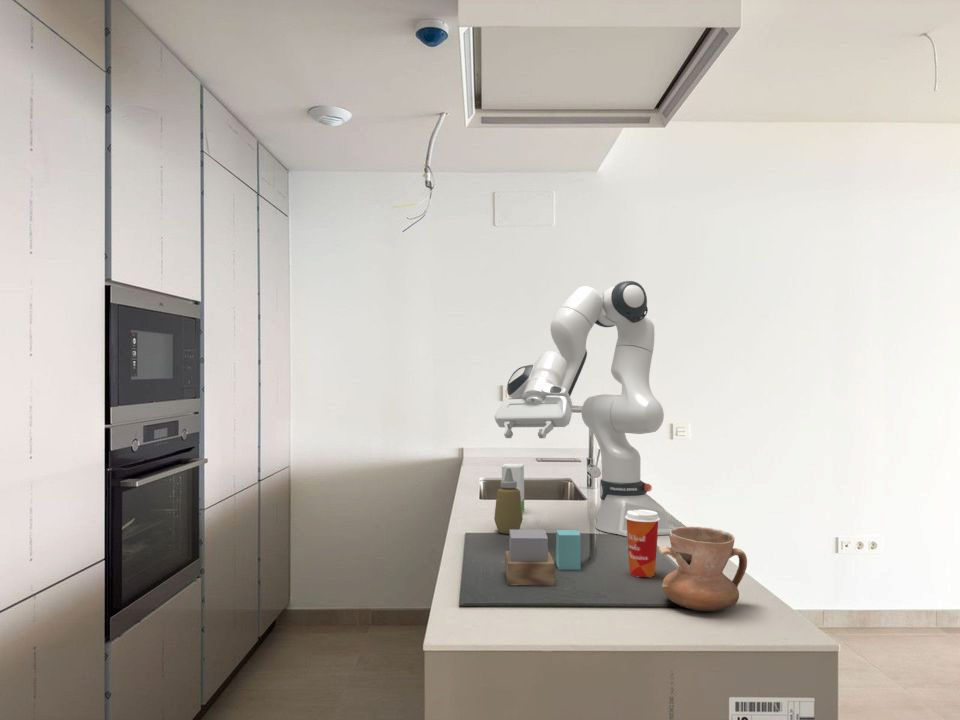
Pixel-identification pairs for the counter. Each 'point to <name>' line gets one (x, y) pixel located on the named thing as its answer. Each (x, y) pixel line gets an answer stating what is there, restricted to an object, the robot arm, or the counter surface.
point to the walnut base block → (530, 571)
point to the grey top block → (528, 545)
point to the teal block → (568, 549)
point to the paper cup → (642, 541)
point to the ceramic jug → (702, 569)
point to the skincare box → (516, 478)
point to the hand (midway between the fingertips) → (524, 436)
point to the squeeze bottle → (508, 505)
